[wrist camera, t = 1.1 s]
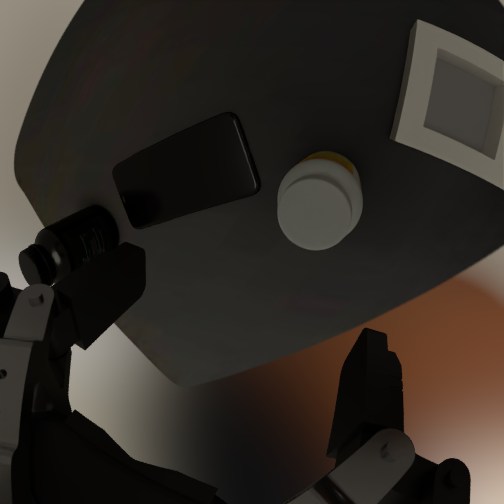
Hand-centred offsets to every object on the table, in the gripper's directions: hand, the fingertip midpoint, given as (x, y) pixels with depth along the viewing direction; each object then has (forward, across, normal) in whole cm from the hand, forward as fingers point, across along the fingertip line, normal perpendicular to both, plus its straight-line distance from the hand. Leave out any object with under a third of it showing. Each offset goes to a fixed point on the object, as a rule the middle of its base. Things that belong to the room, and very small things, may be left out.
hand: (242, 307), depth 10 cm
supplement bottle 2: (+17, -1, -1) cm, 17 cm away
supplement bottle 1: (+17, +24, +11) cm, 31 cm away
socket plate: (+17, -10, -11) cm, 23 cm away
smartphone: (+17, +13, +2) cm, 22 cm away
